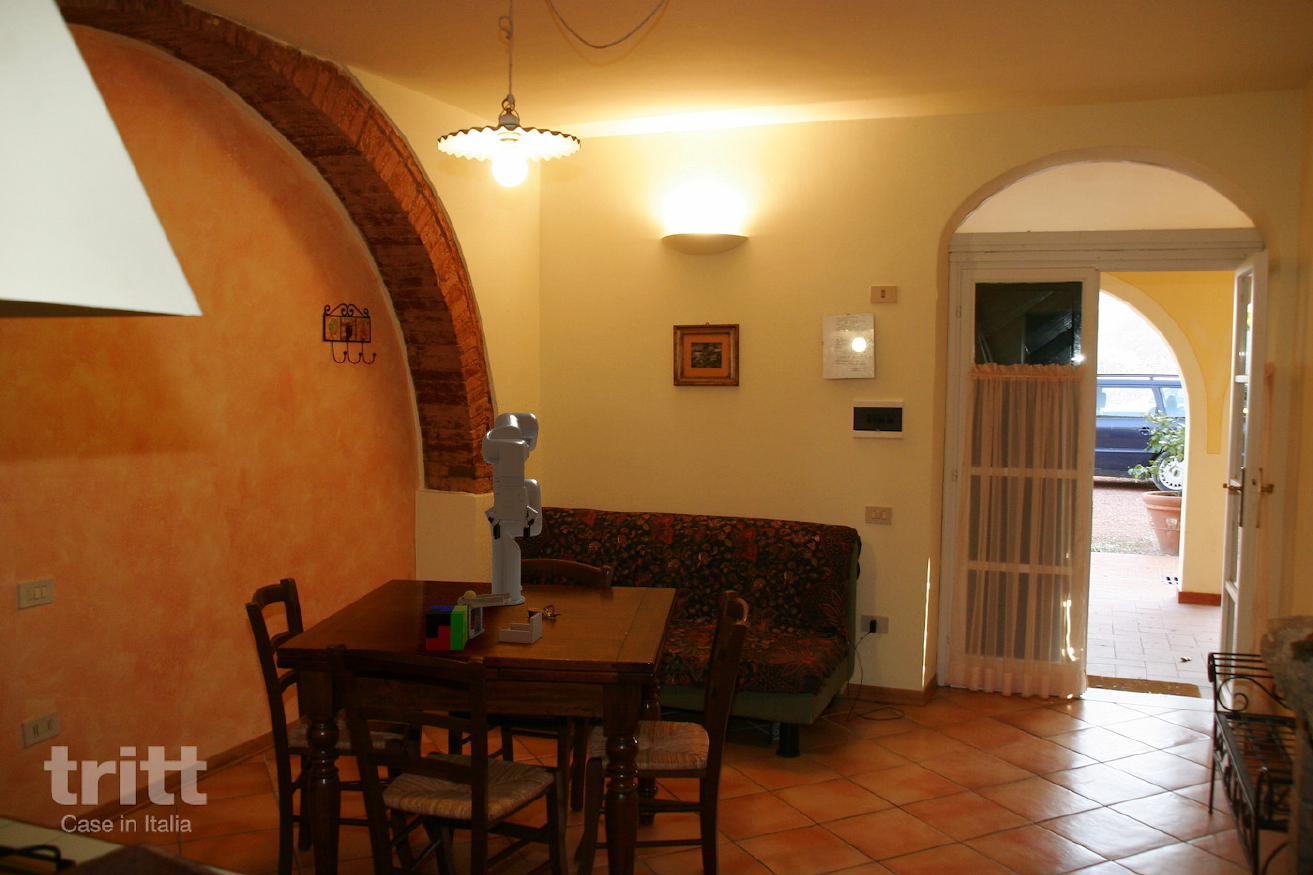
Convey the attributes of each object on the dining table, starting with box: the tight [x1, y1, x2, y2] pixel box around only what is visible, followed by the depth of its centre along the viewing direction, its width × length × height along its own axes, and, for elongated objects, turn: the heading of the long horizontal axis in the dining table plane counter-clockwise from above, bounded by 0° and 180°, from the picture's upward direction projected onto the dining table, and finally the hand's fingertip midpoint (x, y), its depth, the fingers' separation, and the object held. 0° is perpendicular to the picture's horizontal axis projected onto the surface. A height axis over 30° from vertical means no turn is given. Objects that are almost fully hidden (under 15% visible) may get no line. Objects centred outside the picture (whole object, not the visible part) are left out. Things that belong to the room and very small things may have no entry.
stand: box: [463, 603, 486, 640], centre depth 273 cm, size 10×3×10 cm, turn 167°
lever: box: [453, 592, 511, 611], centre depth 275 cm, size 12×20×7 cm, turn 77°
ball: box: [463, 590, 477, 599], centre depth 273 cm, size 4×4×4 cm
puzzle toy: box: [425, 605, 468, 651], centre depth 262 cm, size 10×10×10 cm
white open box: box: [499, 612, 544, 645], centre depth 269 cm, size 9×10×7 cm
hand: (511, 539), depth 283 cm, fingers open, 8 cm apart
